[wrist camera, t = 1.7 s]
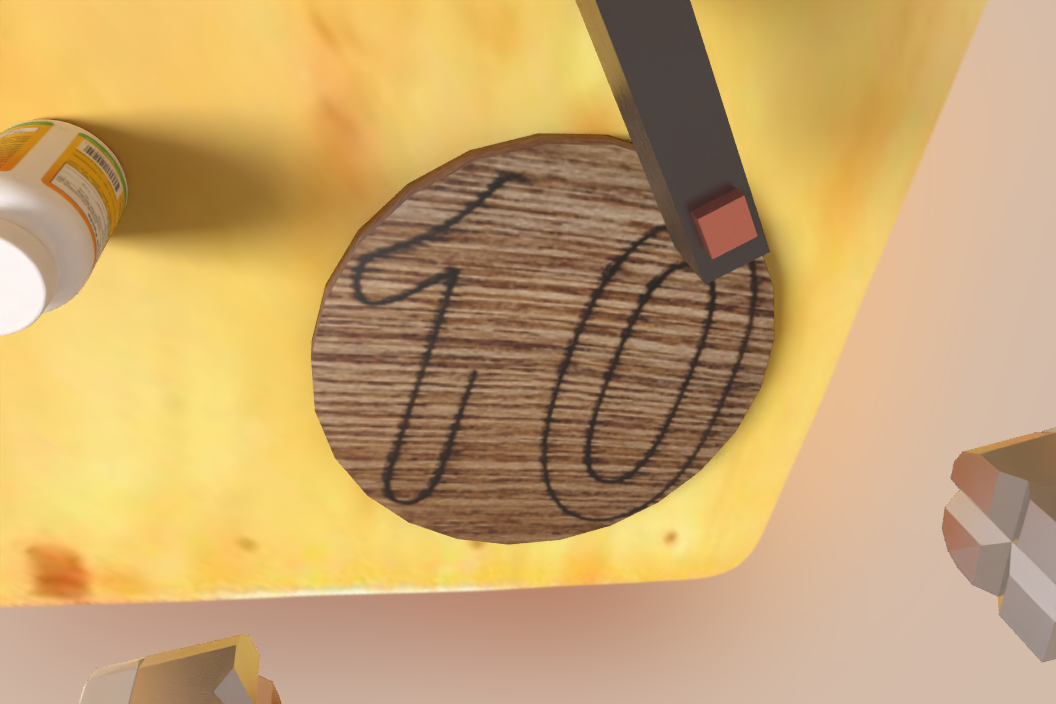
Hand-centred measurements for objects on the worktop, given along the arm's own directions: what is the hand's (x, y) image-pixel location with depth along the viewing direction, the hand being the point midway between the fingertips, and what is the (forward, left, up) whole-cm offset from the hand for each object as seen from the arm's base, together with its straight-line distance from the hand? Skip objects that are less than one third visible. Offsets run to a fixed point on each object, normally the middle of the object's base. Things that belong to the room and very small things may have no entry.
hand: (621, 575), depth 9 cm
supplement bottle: (+8, -14, -30) cm, 34 cm away
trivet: (+16, +9, -31) cm, 36 cm away
